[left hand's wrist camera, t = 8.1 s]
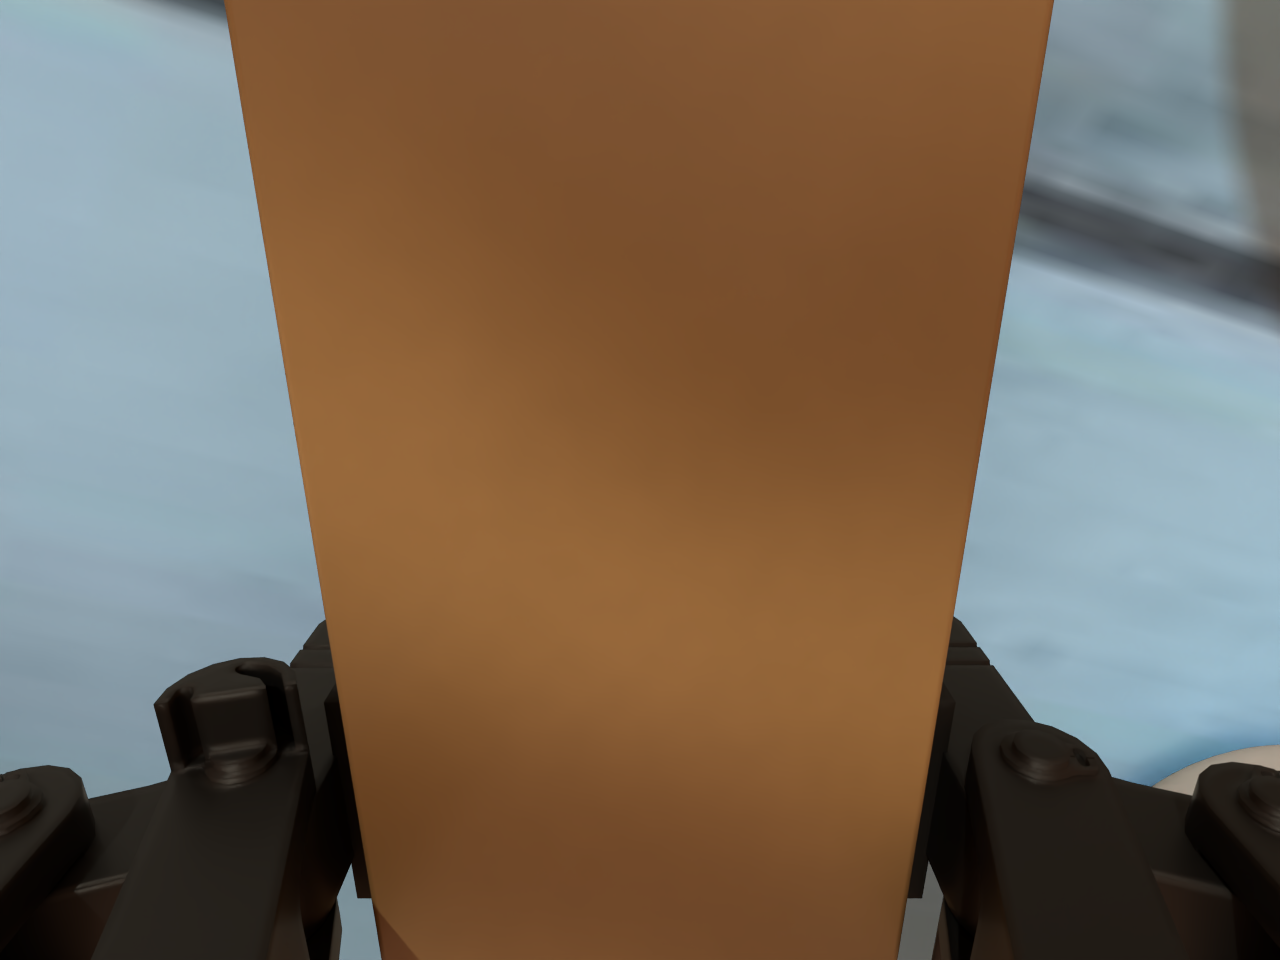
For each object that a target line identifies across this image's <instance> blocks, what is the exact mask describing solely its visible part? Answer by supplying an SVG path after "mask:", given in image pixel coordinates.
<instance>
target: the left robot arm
mask: <svg viewBox="0 0 1280 960" xmlns="http://www.w3.org/2000/svg"><path fill="white" fill-rule="evenodd" d="M154 708H155V712H156V716H157V719H158V723H159V727H160V731H161V734H162V738H163V742H164V746H165V749H166V753H167V757H168V761H169V764H170V768H171V773H170V776H169V778H168V780H167V781H164V782H160V783H157V784H153V785H150V786H145V787H141V788H136V789H131V790H127V791H122V792H118V793H113V794H108V795H104V796H99V797H94V798H90V799H88V797H87V794H86V791H85V788H84V785H83V781H82V778H81V777H80V776H78V775H77V774H76V773H75V772H73V771H72V770H71V769H70V768H64V767H57V766H51V765H46V766H38V767H30V768H23V769H18V770H15V771H11V772H7V773H6V774H0V960H339V954H340V945H341V935H342V925H341V918H340V912H339V906H338V901H337V896H338V893H339V891H340V888H341V886H342V884H343V881H344V879H345V877H346V874H347V872H348V870H349V867H350V865H351V864H352V869H353V875H354V881H355V887H356V892H357V898H371V891H370V885H369V879H368V873H367V867H366V861H365V855H364V849H363V843H362V837H361V831H360V825H359V818H358V812H357V806H356V800H355V794H354V788H353V782H352V776H351V770H350V764H349V758H348V751H347V745H346V739H345V733H344V727H343V721H342V715H341V709H340V703H339V697H338V691H337V684H336V678H335V672H334V666H333V660H332V654H331V648H330V642H329V636H328V630H327V624H326V620H324V621H323V622H321V623H320V624H319V625H318V626H317V627H316V629H315V630H314V632H313V633H312V634H311V636H310V637H309V638H308V640H307V641H306V643H305V644H304V645H303V650H300V651H299V652H298V653H297V655H296V656H295V658H294V659H293V660H292V662H291V663H290V667H289V666H288V665H287V664H286V663H284V662H282V661H278V660H274V659H270V658H265V657H259V658H238V659H234V660H230V661H225V662H221V663H216V664H213V665H210V666H208V667H205V668H203V669H200V670H198V671H196V672H193V673H191V674H188V675H187V676H185V677H184V678H182V679H181V680H179V681H178V682H176V683H175V684H173V685H172V686H170V687H168V688H167V689H166V690H165V691H164V693H163V694H162V695H161V696H160V697H159V698H158V700H157V701H156V702H155V703H154ZM928 860H929V862H930V865H931V867H932V869H933V872H934V874H935V876H936V879H937V881H938V883H939V886H940V888H941V890H942V893H943V895H944V896H943V901H942V906H941V912H940V917H939V923H938V928H937V933H936V939H935V944H934V949H933V955H932V960H1280V771H1277V770H1275V769H1272V768H1268V767H1264V766H1261V765H1254V764H1247V763H1239V762H1226V763H1220V764H1213V765H1210V766H1209V767H1208V768H1206V769H1205V770H1204V771H1203V772H1201V773H1200V774H1199V776H1198V779H1197V782H1196V786H1195V789H1194V792H1193V795H1187V794H1183V793H1178V792H1173V791H1169V790H1164V789H1159V788H1155V787H1150V786H1146V785H1141V784H1136V783H1132V782H1128V781H1125V780H1121V779H1117V778H1114V777H1112V776H1111V774H1110V772H1109V770H1108V768H1107V767H1106V766H1105V764H1104V763H1103V761H1102V760H1101V759H1100V757H1099V756H1098V754H1097V753H1096V752H1094V751H1093V750H1092V749H1090V748H1089V747H1088V746H1086V745H1085V744H1084V743H1083V742H1081V741H1080V740H1079V739H1077V738H1076V737H1073V736H1071V735H1069V734H1067V733H1065V732H1063V731H1061V730H1059V729H1056V728H1054V727H1052V726H1048V725H1044V724H1041V723H1037V722H1034V720H1033V719H1032V718H1031V716H1030V715H1029V714H1028V712H1027V711H1026V709H1025V708H1024V707H1023V705H1022V704H1021V703H1020V701H1019V700H1018V699H1017V697H1016V696H1015V694H1014V693H1013V692H1012V690H1011V689H1010V688H1009V686H1008V685H1007V684H1006V682H1005V681H1004V679H1003V678H1002V677H1001V675H1000V674H999V673H998V671H997V670H996V669H995V667H994V666H993V665H990V660H989V659H988V658H987V656H986V655H985V654H984V652H983V651H982V649H981V648H980V647H977V643H976V641H975V640H974V639H973V637H972V636H971V634H970V633H969V632H968V630H967V629H966V628H965V626H964V625H963V624H962V622H961V621H959V620H958V619H956V618H955V617H953V621H952V627H951V633H950V640H949V646H948V652H947V658H946V664H945V670H944V676H943V682H942V688H941V695H940V701H939V707H938V713H937V719H936V725H935V731H934V737H933V744H932V750H931V756H930V762H929V768H928V774H927V780H926V786H925V793H924V799H923V805H922V811H921V817H920V823H919V829H918V835H917V841H916V848H915V854H914V860H913V866H912V872H911V878H910V884H909V890H908V897H907V898H922V895H923V889H924V884H925V878H926V872H927V866H928Z"/></svg>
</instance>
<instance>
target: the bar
mask: <svg viewBox="0 0 1280 960" xmlns="http://www.w3.org/2000/svg"><path fill="white" fill-rule="evenodd" d="M224 3H225V9H226V15H227V21H228V27H229V33H230V39H231V45H232V51H233V57H234V63H235V70H236V76H237V82H238V88H239V94H240V100H241V106H242V112H243V118H244V124H245V130H246V137H247V143H248V149H249V155H250V161H251V167H252V173H253V179H254V185H255V191H256V197H257V204H258V210H259V216H260V222H261V228H262V234H263V240H264V246H265V252H266V258H267V264H268V270H269V277H270V283H271V289H272V295H273V301H274V307H275V313H276V319H277V325H278V331H279V337H280V344H281V350H282V356H283V362H284V368H285V374H286V380H287V386H288V392H289V398H290V404H291V411H292V417H293V423H294V429H295V435H296V441H297V447H298V453H299V459H300V465H301V471H302V477H303V484H304V490H305V496H306V502H307V508H308V514H309V520H310V526H311V532H312V538H313V544H314V551H315V557H316V563H317V569H318V575H319V581H320V587H321V593H322V599H323V605H324V611H325V618H326V624H327V630H328V636H329V642H330V648H331V654H332V660H333V666H334V672H335V678H336V684H337V691H338V697H339V703H340V709H341V715H342V721H343V727H344V733H345V739H346V745H347V751H348V758H349V764H350V770H351V776H352V782H353V788H354V794H355V800H356V806H357V812H358V818H359V825H360V831H361V837H362V843H363V849H364V855H365V861H366V867H367V873H368V879H369V885H370V891H371V898H372V904H373V910H374V916H375V922H376V928H377V934H378V940H379V946H380V952H381V958H382V960H897V958H898V952H899V945H900V939H901V933H902V927H903V921H904V915H905V909H906V903H907V897H908V890H909V884H910V878H911V872H912V866H913V860H914V854H915V848H916V841H917V835H918V829H919V823H920V817H921V811H922V805H923V799H924V793H925V786H926V780H927V774H928V768H929V762H930V756H931V750H932V744H933V737H934V731H935V725H936V719H937V713H938V707H939V701H940V695H941V688H942V682H943V676H944V670H945V664H946V658H947V652H948V646H949V640H950V633H951V627H952V621H953V615H954V609H955V603H956V597H957V591H958V584H959V578H960V572H961V566H962V560H963V554H964V548H965V542H966V536H967V529H968V523H969V517H970V511H971V505H972V499H973V493H974V487H975V480H976V474H977V468H978V462H979V456H980V450H981V444H982V438H983V432H984V425H985V419H986V413H987V407H988V401H989V395H990V389H991V383H992V376H993V370H994V364H995V358H996V352H997V346H998V340H999V334H1000V328H1001V321H1002V315H1003V309H1004V303H1005V297H1006V291H1007V285H1008V279H1009V272H1010V266H1011V260H1012V254H1013V248H1014V242H1015V236H1016V230H1017V223H1018V217H1019V211H1020V205H1021V199H1022V193H1023V187H1024V181H1025V175H1026V168H1027V162H1028V156H1029V150H1030V144H1031V138H1032V132H1033V126H1034V119H1035V113H1036V107H1037V101H1038V95H1039V89H1040V83H1041V77H1042V71H1043V64H1044V58H1045V52H1046V46H1047V40H1048V34H1049V28H1050V22H1051V15H1052V9H1053V3H1054V0H224Z"/></svg>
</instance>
